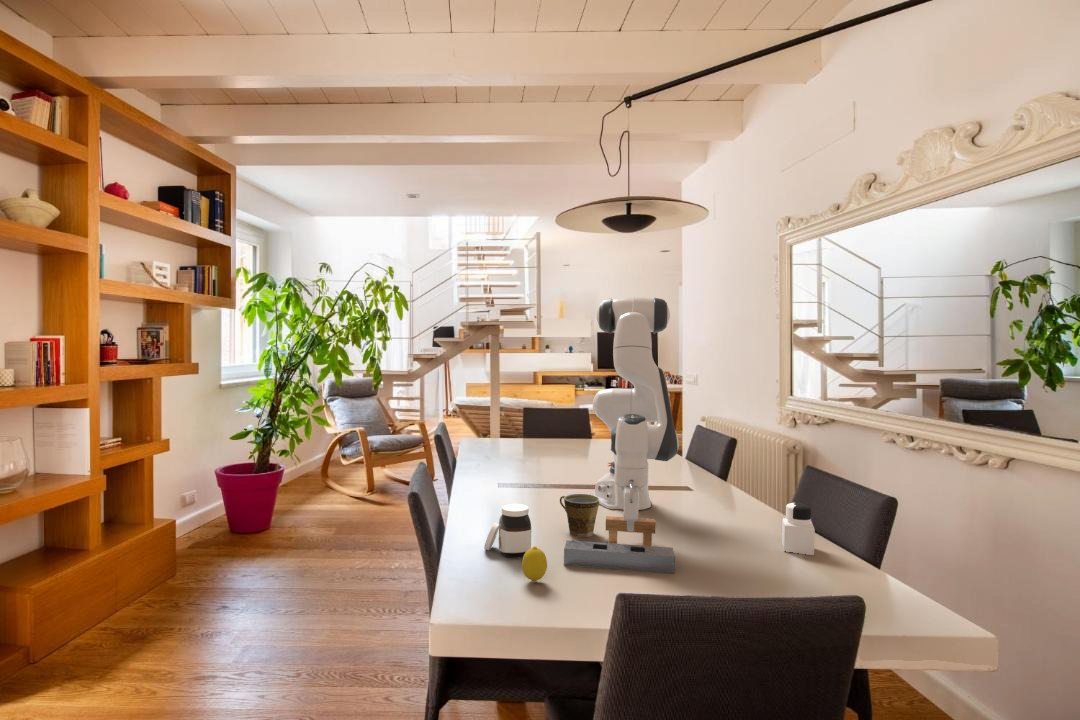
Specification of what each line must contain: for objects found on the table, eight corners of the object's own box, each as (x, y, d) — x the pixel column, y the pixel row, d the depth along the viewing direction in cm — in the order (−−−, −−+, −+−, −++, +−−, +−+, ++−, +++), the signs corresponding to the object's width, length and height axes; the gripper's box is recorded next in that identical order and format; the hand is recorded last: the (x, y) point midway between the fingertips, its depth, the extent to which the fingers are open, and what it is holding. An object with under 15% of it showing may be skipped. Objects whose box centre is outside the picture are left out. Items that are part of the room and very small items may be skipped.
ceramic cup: (605, 533, 159) (606, 498, 159) (583, 542, 152) (584, 505, 152) (570, 523, 168) (571, 490, 168) (548, 530, 161) (548, 496, 161)
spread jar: (534, 558, 140) (535, 512, 139) (489, 563, 136) (490, 515, 136) (522, 542, 151) (522, 499, 151) (480, 546, 148) (481, 501, 148)
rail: (563, 565, 136) (564, 548, 136) (566, 556, 142) (566, 540, 142) (674, 573, 132) (674, 556, 132) (672, 563, 138) (672, 547, 138)
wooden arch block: (605, 545, 150) (605, 519, 150) (605, 541, 153) (606, 516, 153) (655, 548, 148) (655, 522, 148) (654, 545, 151) (655, 519, 151)
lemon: (521, 577, 128) (521, 542, 128) (545, 577, 129) (546, 542, 128) (522, 587, 123) (523, 551, 122) (547, 587, 123) (548, 550, 123)
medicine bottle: (810, 546, 151) (811, 502, 151) (814, 556, 145) (815, 509, 144) (781, 543, 154) (783, 499, 154) (784, 552, 147) (785, 506, 147)
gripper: (644, 486, 139) (643, 542, 139) (642, 468, 159) (641, 517, 160) (618, 485, 140) (617, 540, 140) (619, 467, 160) (618, 516, 161)
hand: (630, 528), depth 150 cm, fingers closed on wooden arch block, 3 cm apart
